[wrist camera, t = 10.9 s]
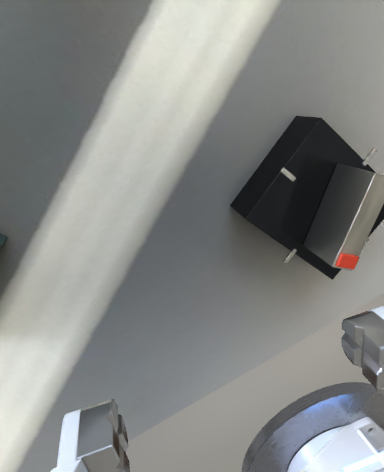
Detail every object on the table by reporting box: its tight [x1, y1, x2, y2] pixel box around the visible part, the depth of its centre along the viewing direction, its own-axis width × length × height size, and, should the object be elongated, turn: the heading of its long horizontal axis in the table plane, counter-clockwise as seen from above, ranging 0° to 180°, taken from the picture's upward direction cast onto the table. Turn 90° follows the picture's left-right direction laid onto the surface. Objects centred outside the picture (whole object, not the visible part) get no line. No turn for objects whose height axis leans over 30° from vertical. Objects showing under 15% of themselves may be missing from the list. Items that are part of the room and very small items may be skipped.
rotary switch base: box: [230, 116, 384, 279], centre depth 28 cm, size 11×11×4 cm
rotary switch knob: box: [303, 163, 384, 270], centre depth 25 cm, size 7×2×4 cm, turn 164°
